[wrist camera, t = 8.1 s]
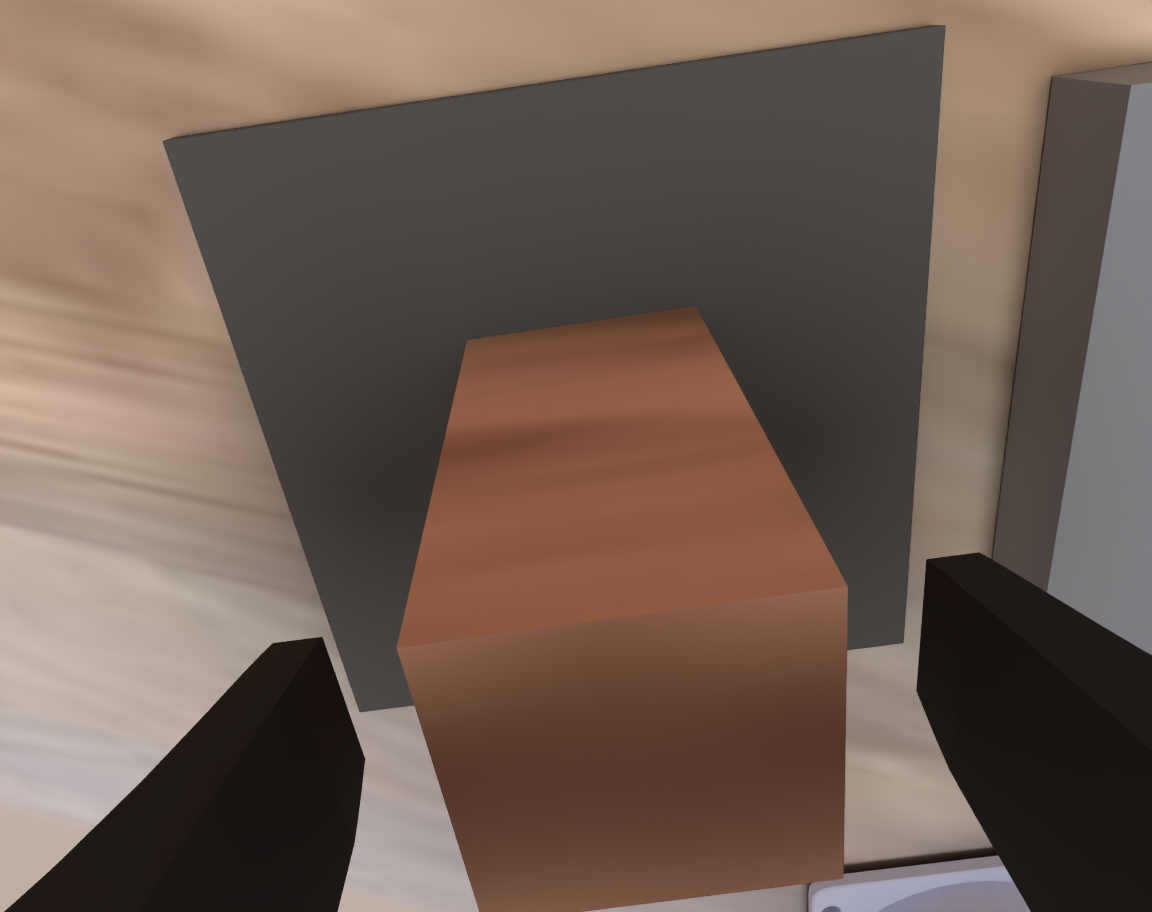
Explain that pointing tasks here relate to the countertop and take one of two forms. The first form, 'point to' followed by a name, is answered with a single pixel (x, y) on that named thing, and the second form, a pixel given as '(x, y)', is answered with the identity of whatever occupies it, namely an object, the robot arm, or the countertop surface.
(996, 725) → the robot arm
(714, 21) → the countertop surface
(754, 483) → the block
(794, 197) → the mat
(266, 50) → the countertop surface
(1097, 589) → the holder
